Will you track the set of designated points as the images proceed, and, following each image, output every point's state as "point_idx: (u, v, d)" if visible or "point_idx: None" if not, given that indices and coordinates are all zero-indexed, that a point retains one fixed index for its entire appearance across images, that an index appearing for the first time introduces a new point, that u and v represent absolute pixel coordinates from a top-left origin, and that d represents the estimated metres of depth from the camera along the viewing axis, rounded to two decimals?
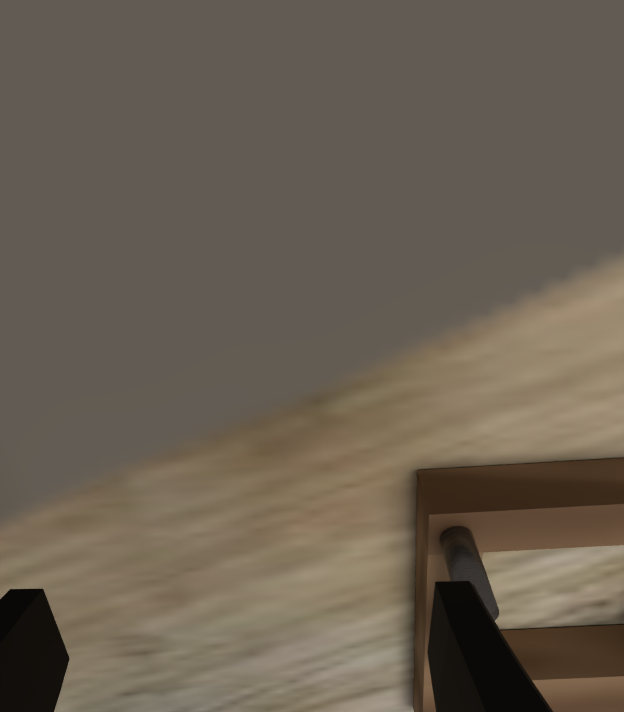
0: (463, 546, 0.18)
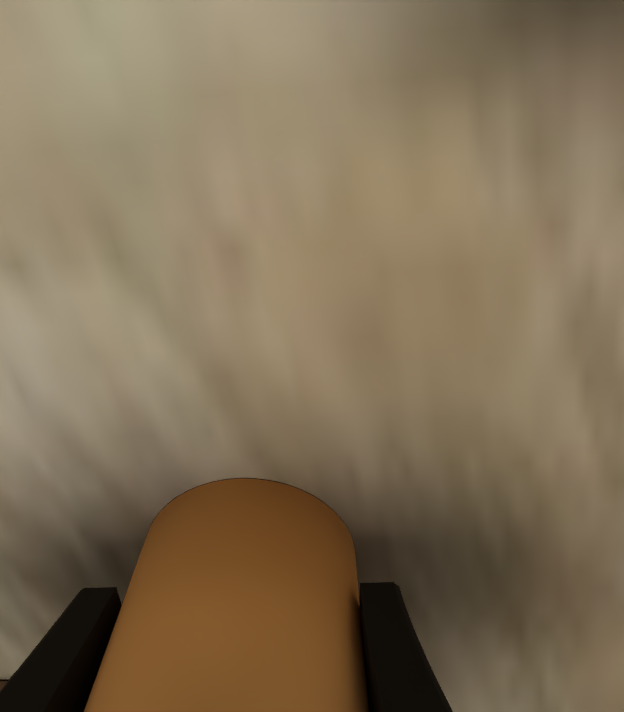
0: None
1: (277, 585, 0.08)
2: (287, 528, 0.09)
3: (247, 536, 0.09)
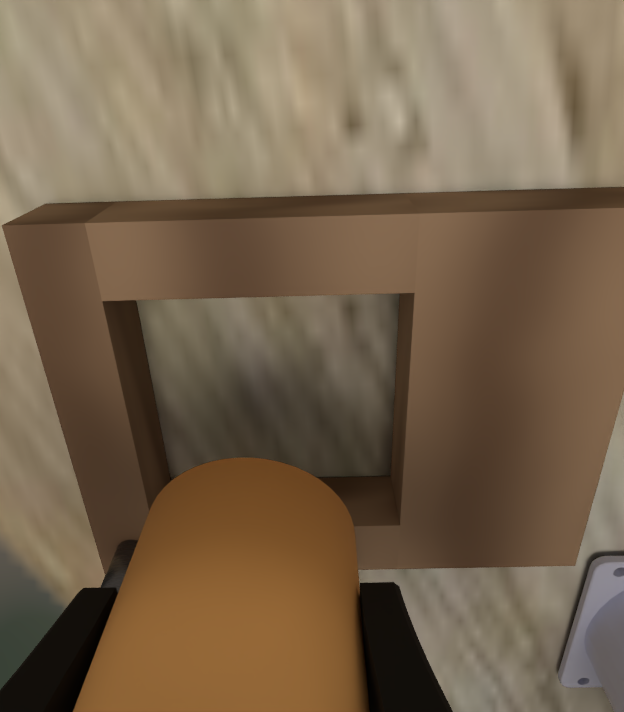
0: None
1: (288, 563, 0.08)
2: (298, 509, 0.10)
3: (259, 513, 0.09)
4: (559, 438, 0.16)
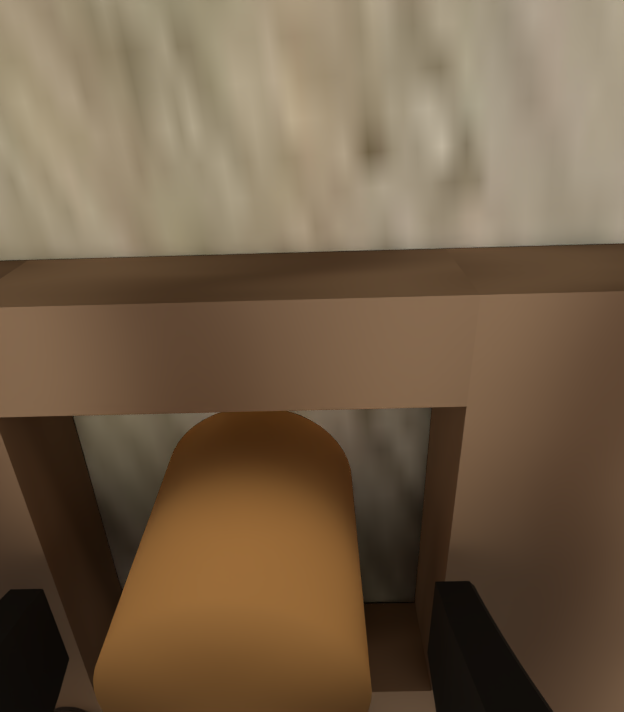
0: None
1: (296, 486, 0.10)
2: (303, 447, 0.11)
3: (270, 449, 0.11)
4: None
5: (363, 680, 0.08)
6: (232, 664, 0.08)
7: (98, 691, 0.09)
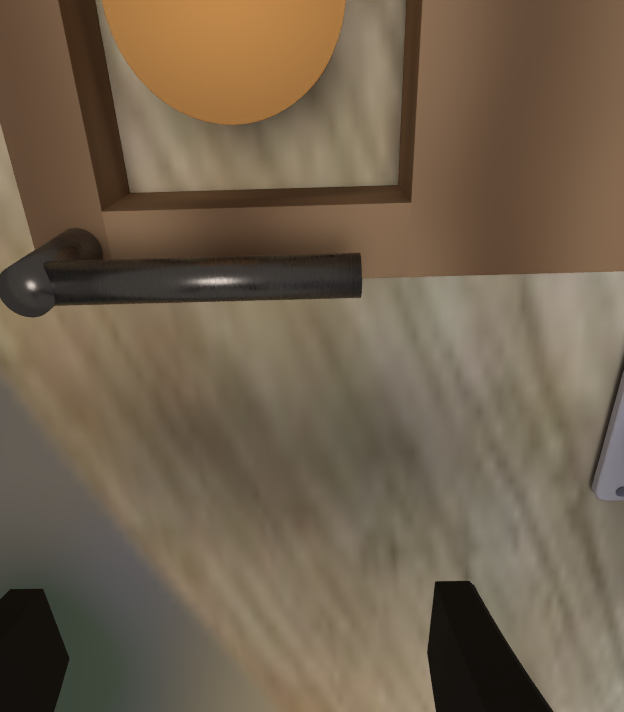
0: None
1: None
2: None
3: None
4: (618, 48, 0.12)
5: None
6: None
7: None
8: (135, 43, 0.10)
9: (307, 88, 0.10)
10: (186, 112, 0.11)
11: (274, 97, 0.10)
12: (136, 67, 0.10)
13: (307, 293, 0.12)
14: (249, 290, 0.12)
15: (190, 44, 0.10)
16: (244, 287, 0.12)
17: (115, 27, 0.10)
